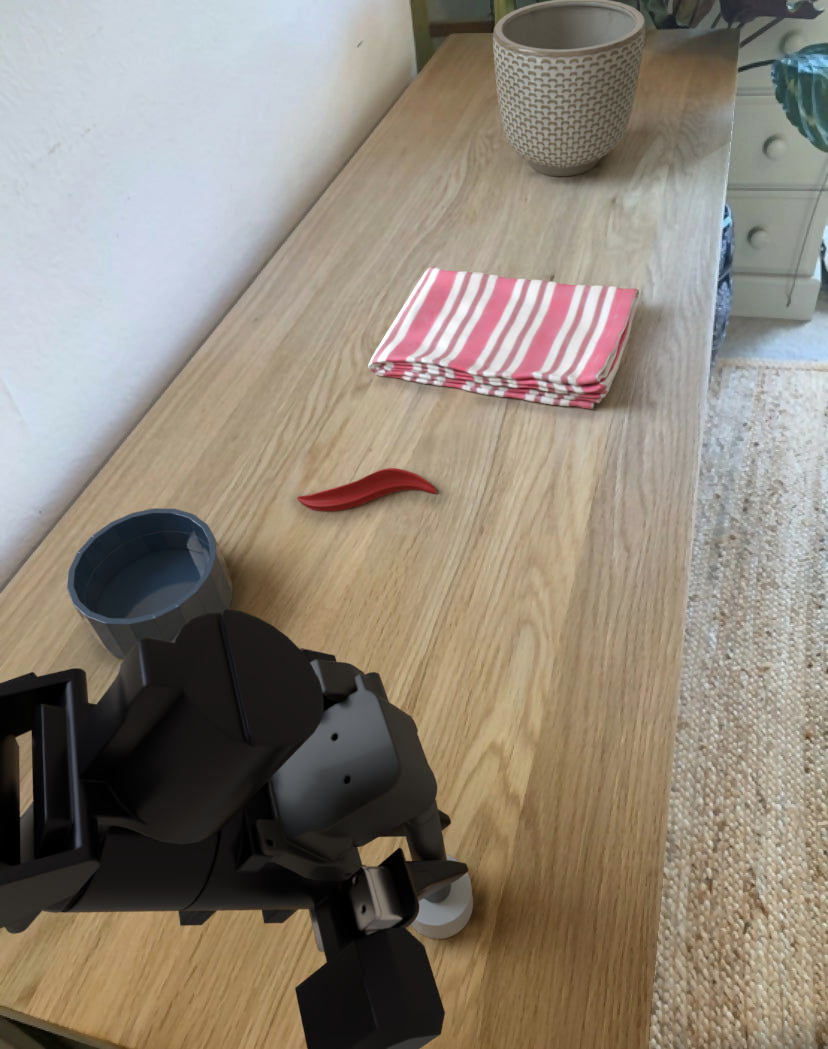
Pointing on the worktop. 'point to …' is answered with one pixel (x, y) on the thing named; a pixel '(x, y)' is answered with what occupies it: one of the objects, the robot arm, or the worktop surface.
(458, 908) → the joystick
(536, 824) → the worktop surface
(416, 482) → the cayenne pepper
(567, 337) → the dish towel
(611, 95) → the planter
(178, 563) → the bowl
